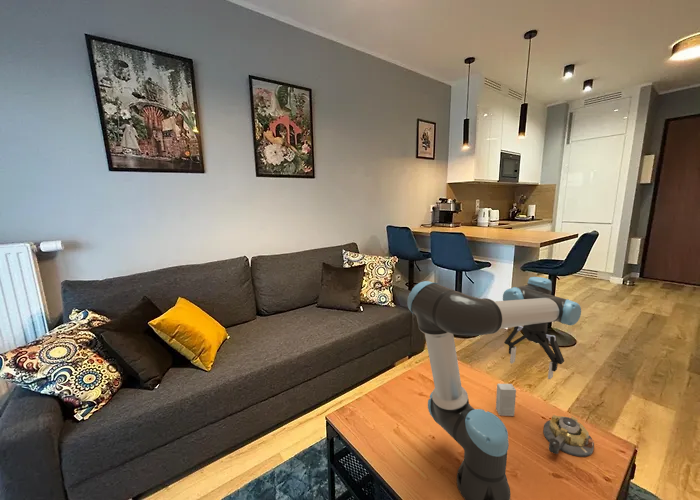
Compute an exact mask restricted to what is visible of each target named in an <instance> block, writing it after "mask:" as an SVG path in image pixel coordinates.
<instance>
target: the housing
mask: <svg viewBox="0 0 700 500" xmlns="http://www.w3.org/2000/svg"><path fill="white" fill-rule="evenodd" d="M568 417H569V416H563V417H561V418H560V419H559V426H558V427H559V429H561V428H564V429H566V430H568V434H570V435H579V428H580V425H579V424H578V422H579V421H577V422H576V421H575V420H573V419H571V417H569V418H568ZM550 420H551V419H549V420H547V421H545V422H544V425H543V431H542V433H543V436H544V438H545V439H546V440H547V442H550V439H552V438H553V439H555V438H556V437H555V436H554V435H553V433H552V432H551V430H550V429H549V426H550ZM594 447H595V442H594V439H593V438H592V437H591V436H590V435H589V436H588V441H587V443H586V444H585V445H584V446H583V447H582V446H572V445H570V444H569V445H568V444H566V443H564V445H563V446H562V447H561V448H560V449H559V451H561V452H563V453H564V454H567V455H571V456H572V457H574V456H575V457H580V458H586V457H589V456H591V455H592V454H593V452H594Z"/></svg>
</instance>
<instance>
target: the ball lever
mask: <svg viewBox="0 0 700 500" xmlns="http://www.w3.org/2000/svg"><path fill="white" fill-rule="evenodd" d="M561 417H564V416H561V415H556V414H553V415H552V416H551V419H549V420H550V426H549V429H550V430H551V432H552V433H553V435H554V436H555V437H556V438H555V439H553V438H552V439H550V442H549V441H548V442H549V443H548V451H549V452H550V453H552V454H554V455H559V451H560V450H559V449H560V448H561V447H562V446H563V445H564V443H566V444H568V445H569V444H570V445H572V446H582V447H583V446H584V445H585V444H586V443H587V441H588V436H590V435H589V434H590V432H589V431H588V430H587V428H585V426H584V425H583V423H580V422H579V421H578V418H576V417H574V416H571V417H569V416H567V417H568V418H571V419H573V420H575V421H576V422H578V424H579V425H580V428H579V435H570V434H568V430H566V429H564V428H561V429H559V427H558V426H559V419H560V418H561Z"/></svg>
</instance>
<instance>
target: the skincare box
mask: <svg viewBox="0 0 700 500" xmlns="http://www.w3.org/2000/svg"><path fill="white" fill-rule="evenodd" d="M516 394H517V390H516V388H515V387H514V385H513V383H497V384H496V395H495V396H496V397H495V410H496V412H497V414H498V416H506V417H515V409H516V398H517V397H516V396H517V395H516Z"/></svg>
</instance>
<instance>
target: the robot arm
mask: <svg viewBox="0 0 700 500" xmlns="http://www.w3.org/2000/svg"><path fill="white" fill-rule="evenodd" d="M552 283H553V282H552V280H551V279H549V278H546V277H543V276H530V277H529V278H528V280H527V284H526V285H521V286H513V287H510V288H507V289H506V290H505V291H504V292H502V293H503V294H502V300H497V301H495V300H492V299H491V298H480V297H479V298H478V297H475V296H471V295H468V294H465V293H462V292H461V291H456V290H454V289H452V288H450V287H446V286H443V285H440V284H439V283H438V282H435V281H434V282H432V281H429V280H424V281H420V282H419V283H416V284H415V285H414V287H412V289H411V291H410V292H409V293H408V296H407V308H408V310H409V311H410V312H411V314H413V315H415V317H416V320H417V321H416V322H417V325H418V330H420V332H422V333H423V334H424V336H425V337H424V338H425V342H426V348H427V353H428V359H429V365H430V369H431V373H432V374H431V376H432V379H433V385H434V388H433V390H432V392H431V393H430V395H429V398H428V401H427V410H428V412H429V415H430V416H431V418H433V420H434V421H435V422H436V424H438V426H440V427H441V428H442V429H443V431H445V432H446V433H447V434H448V435H449V436H450V437H451V438H452V439H454V441H456V442H457V444H458V445H460V447H461V448H463V452H464V453H463V460H462V462H461V464H460V466H459V467H458V469H457V473H456V474H457V475H456V484H457V485H456V486H457V489H458V491H459V493H460V495H461V496H462V498H463V499H464V500H511V487H510V485H509V481H508V478H507V475H506V474H507V473H506V470H507V462H508V461H507V459H508V450H509V447H510V446H509V445H510V444H509V433H508V429H507V427H506V425H505V423H504V422H503V420H502V419H501V418H499V417H498V416H497V415H495V414H494V413H492V412H490V411H487V410H486V411H485V409H481V408H474V407H473V406H472V405H471V404H470V401H469V395H468V392H467V390H466V389H465V388H464V387H463V386H462V381H461V376H460V375H461V374H460V369H459V367H460V366H459V363H458V356H457V350H456V343H455V336H454V335H458V336H485V335H486V336H487V335H493V334H496V333H498V332H499V331H500V330H501V329H508V328H513V330H512V332H511V333H510V334H509V335H508V337H506V339H505V340H504V344H505V345H507V346H508V354H509V355H510V358H509V363H510V364H514V363H515V362H516V357H517V355H516V353H517V346H516V345H517V344H519V343H521V342H522V341H524V340H525V339H526V340H528V341H529V342H533V343H535V344H539V346H540V347H541V348H542V349H543V351H544V352H545V353H546V355H547V357H548V358H549V359H550V361H549V365H548V374H547V380H551V379H552V378H553V377H554V373H555V372H556V371H557V370H558V364H559V365H562V364H563V363H564V362H565V358H564V356H563V354H562V351H561V349H560V346H559V345H558V342H557V335H555V334H553V335H551V334H548V332H547V331H548V323H553V322H554V323H555V322H558V323H561V325H562V324H563V325H567V326H573V325H576V324H577V323H578V322H579V321H580V318H581V315H582V308H581V307H582V306H581V304H579V303H578V302H577V301H573V300H570V299H569V298H567V299H566V298H563V297H558V296H556V295H552V292H553V291H552V288H553V287H552ZM520 331H522V333H523V335H522V336H520V337H519V338H517V339H515V340H514V341H513V339H514V337H516V335H517V334H518V333H519V332H520ZM547 340H548V341H549V342H550V345H549V343H548V341H547ZM512 341H513V342H512ZM550 346H551V347H550Z"/></svg>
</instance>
